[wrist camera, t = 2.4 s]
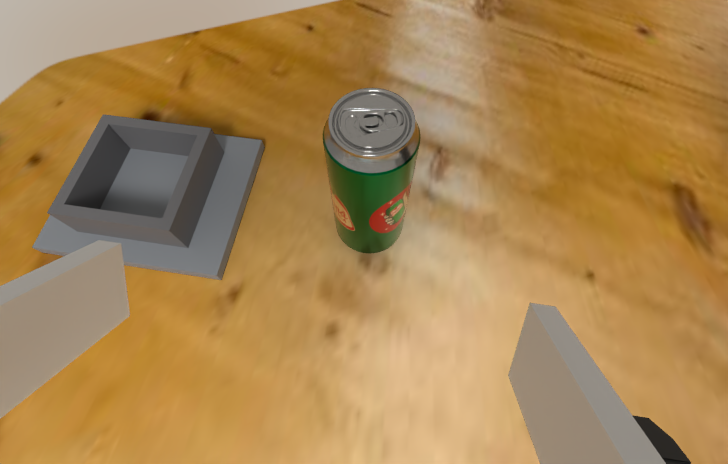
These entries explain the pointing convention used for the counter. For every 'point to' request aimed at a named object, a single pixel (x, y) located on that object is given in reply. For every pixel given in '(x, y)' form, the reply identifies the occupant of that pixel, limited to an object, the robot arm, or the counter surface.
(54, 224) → the mount
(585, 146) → the counter surface
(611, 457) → the robot arm
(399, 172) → the soda can
